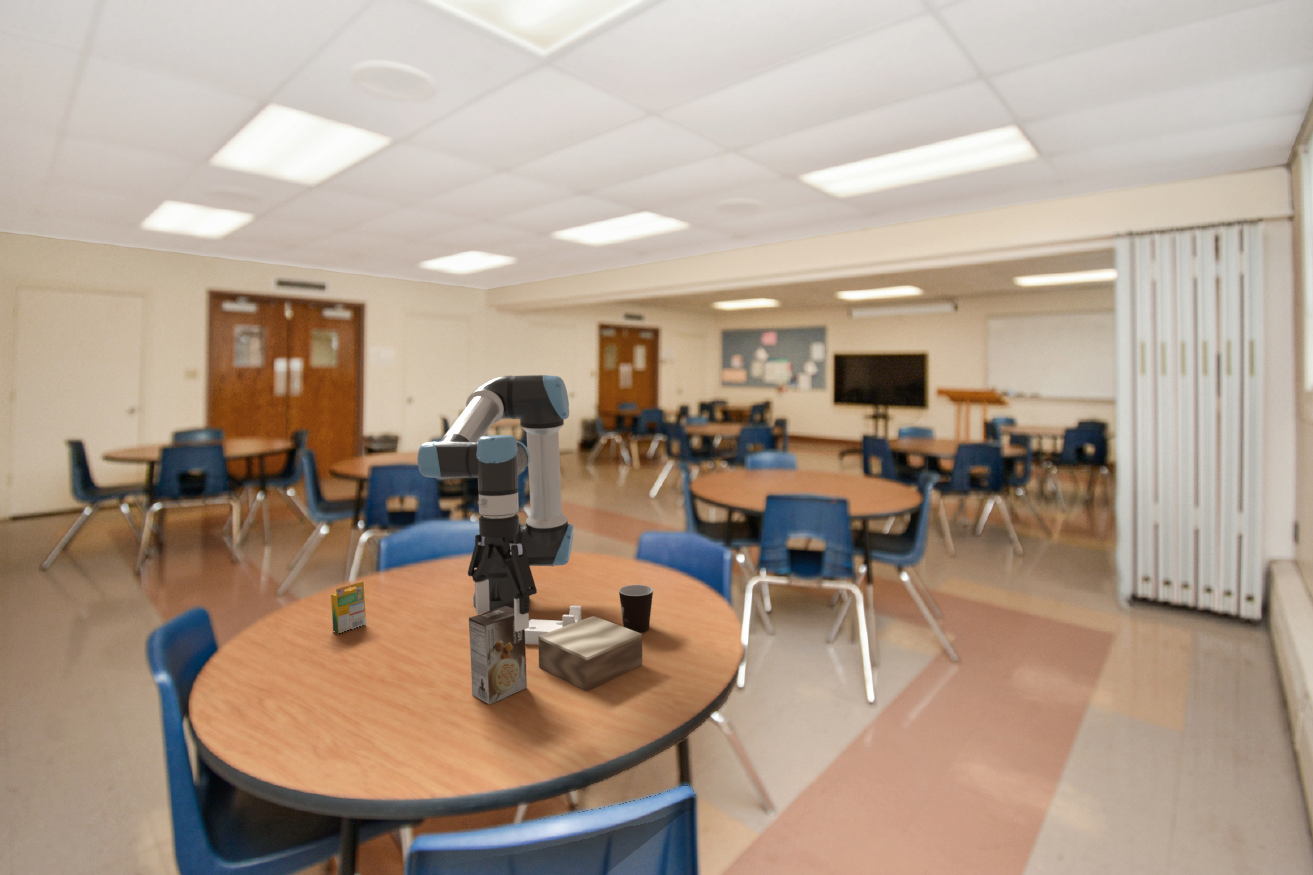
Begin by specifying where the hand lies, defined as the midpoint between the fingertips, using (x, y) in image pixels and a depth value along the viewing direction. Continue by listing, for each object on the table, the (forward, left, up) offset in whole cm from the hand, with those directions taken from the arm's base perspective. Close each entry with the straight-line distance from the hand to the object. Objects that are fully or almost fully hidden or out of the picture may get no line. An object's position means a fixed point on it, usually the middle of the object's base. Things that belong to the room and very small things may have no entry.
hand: (501, 620), depth 122 cm
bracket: (-15, +23, -16) cm, 32 cm away
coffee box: (-2, 0, -15) cm, 15 cm away
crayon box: (-59, -7, -15) cm, 61 cm away
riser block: (+3, +20, -15) cm, 25 cm away
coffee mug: (-5, +43, -15) cm, 46 cm away
